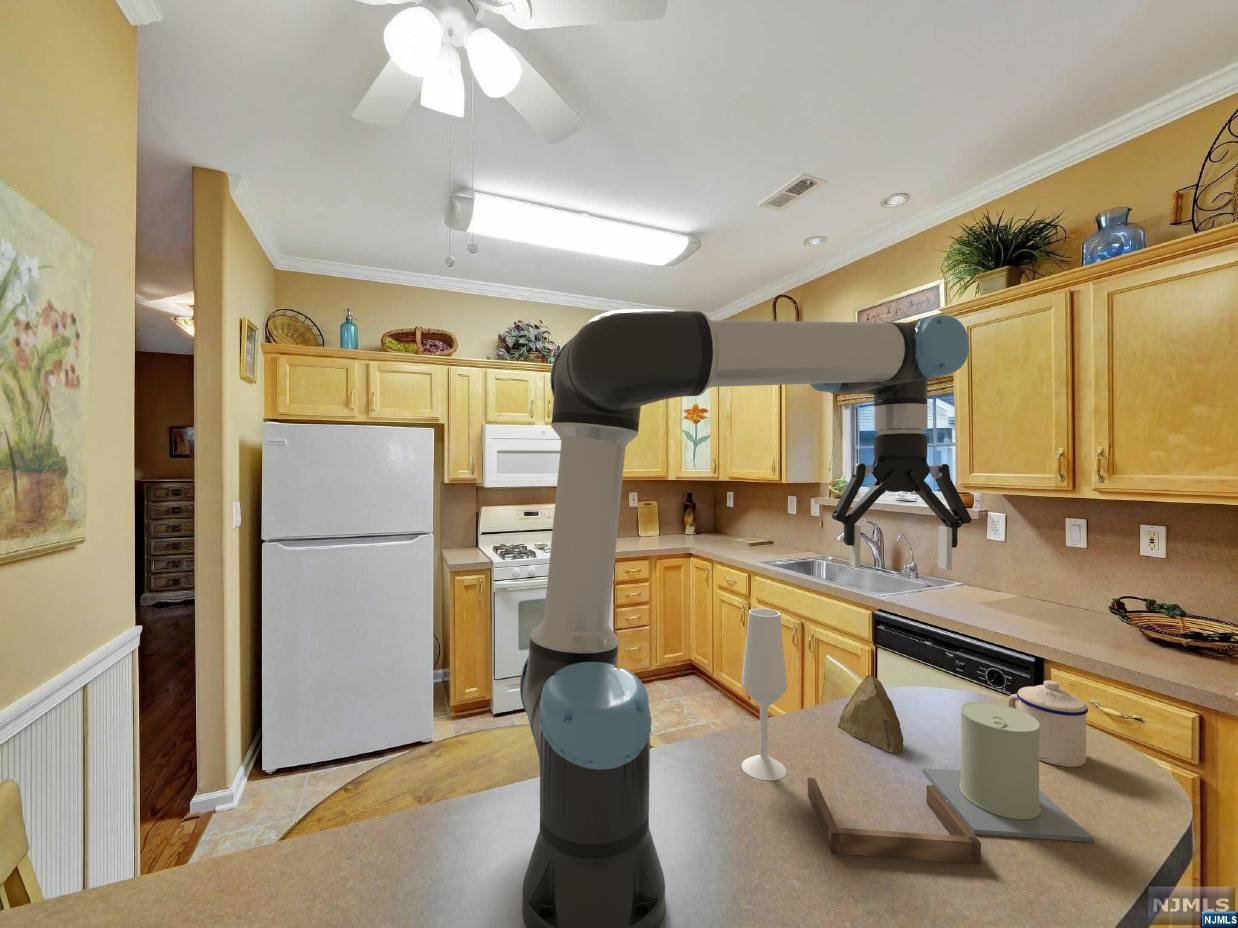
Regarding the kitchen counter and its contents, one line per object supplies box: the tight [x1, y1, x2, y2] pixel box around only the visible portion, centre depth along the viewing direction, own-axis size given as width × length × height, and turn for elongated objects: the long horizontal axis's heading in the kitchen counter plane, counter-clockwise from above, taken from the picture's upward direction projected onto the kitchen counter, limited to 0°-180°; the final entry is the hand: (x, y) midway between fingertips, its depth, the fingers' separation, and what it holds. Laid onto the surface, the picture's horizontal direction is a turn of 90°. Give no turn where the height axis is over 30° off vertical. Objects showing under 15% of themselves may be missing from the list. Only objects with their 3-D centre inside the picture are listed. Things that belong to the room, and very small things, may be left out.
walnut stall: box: [807, 777, 982, 865], centre depth 70 cm, size 17×12×2 cm
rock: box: [836, 674, 904, 754], centre depth 93 cm, size 11×9×10 cm
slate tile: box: [922, 767, 1094, 843], centre depth 75 cm, size 14×14×1 cm
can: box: [959, 701, 1041, 820], centre depth 75 cm, size 9×9×12 cm
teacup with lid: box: [1007, 679, 1089, 768], centre depth 90 cm, size 12×9×12 cm
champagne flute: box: [741, 607, 788, 782], centre depth 84 cm, size 7×7×24 cm
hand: (899, 567), depth 86 cm, fingers open, 13 cm apart
